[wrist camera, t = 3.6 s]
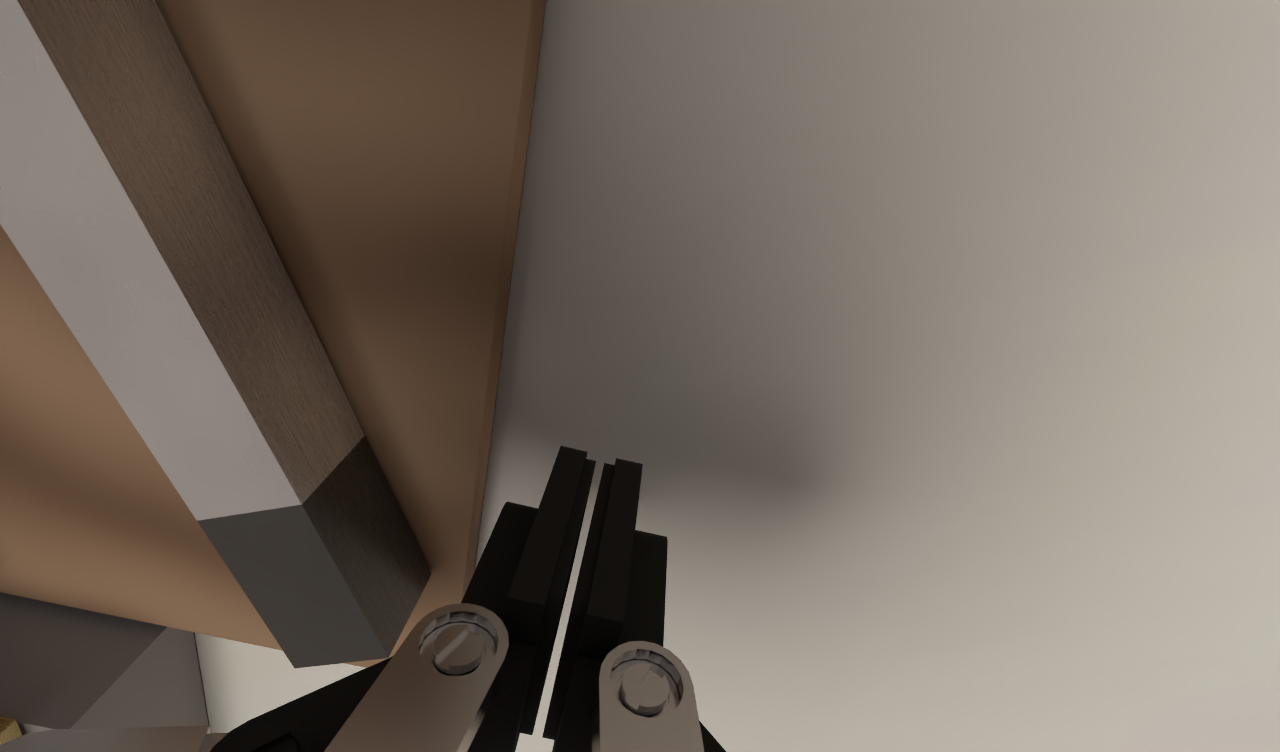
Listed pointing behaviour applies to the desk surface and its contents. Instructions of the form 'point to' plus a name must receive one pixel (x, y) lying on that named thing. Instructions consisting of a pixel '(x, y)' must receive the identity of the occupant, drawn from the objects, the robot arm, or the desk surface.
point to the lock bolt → (8, 729)
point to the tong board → (302, 295)
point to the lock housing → (94, 670)
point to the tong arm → (197, 322)
